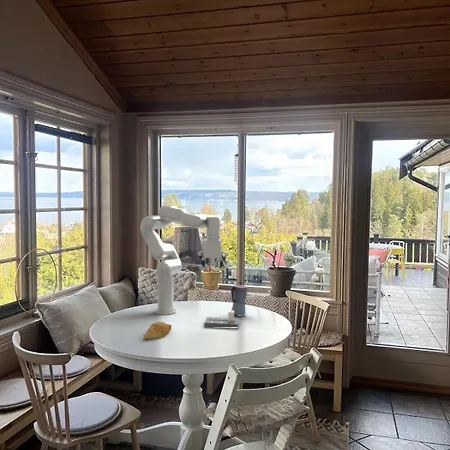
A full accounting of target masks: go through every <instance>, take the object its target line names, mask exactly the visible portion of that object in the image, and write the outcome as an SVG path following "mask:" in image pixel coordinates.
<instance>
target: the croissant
mask: <svg viewBox="0 0 450 450" xmlns="http://www.w3.org/2000/svg"><path fill="white" fill-rule="evenodd" d="M171 330H172V324H169V323H165V322H164V321H156V322H153V323H151V325H150V326H149V327H148V329H147V330H146V331H145V334H143V338H144V339H145V340H152V339H161V338H164V337H166V336H168V335H169V333H170V331H171Z"/></svg>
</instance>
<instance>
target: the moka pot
mask: <svg viewBox="0 0 450 450" xmlns="http://www.w3.org/2000/svg"><path fill="white" fill-rule="evenodd" d="M248 290H249V286H247V285H243V282H242V281H239V283H238V284H234V285H232V288H231V289H230V293H231V300H232V306H231V310H232V311H234V315H244V314H246V313H247V312H246V299H247V296H248Z"/></svg>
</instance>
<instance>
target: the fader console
mask: <svg viewBox="0 0 450 450" xmlns="http://www.w3.org/2000/svg"><path fill="white" fill-rule="evenodd" d="M239 321H240V318H235V317H234V322H233V321H228V317H216V316H215V317H214V316H213V317H212V316H206V318H205V320H204V323H203V324H204V325H203V327H204V328H210V327H238V328H239V324H238V323H239Z"/></svg>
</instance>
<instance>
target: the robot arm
mask: <svg viewBox="0 0 450 450" xmlns="http://www.w3.org/2000/svg"><path fill="white" fill-rule="evenodd" d="M157 213H158V215H148V216H145V217H144V218H143V219H142V220H141V221H140V227H139V228H140V229H139V230H140V233H141V235H142V237H143V239H144V241H145V242H146V244H147V248H148V249H149V251H150V253H151V255H152V257H153V258H154V260H157V261H160V262H158V264H157V265H156V273H157V308H156V309H155V310H154V312H155V314H157V315H173V314H176V312H177V310H176V309H175V308H174V307H175V306H174V303H175V301H174V300H175V298H174V296H175V295H174V294H175V293H174V291H175V281H174V277H173V276H174V275H178V274H180V273H181V271H182V269H183V264H182V261H181V260H180V257H179V255H178V253H177V251H176V249H175V247H174V245H172V244H171V243H168V242H166V243H163V242H162V240H161V237H160V236H159V234H158V233H157V232H156V231H155V230H163V229H165V228H166V227H168V226H169V225H170V224H172V223H177V224H180V225H181V226H184V227H187V228H192V229H206V234H205V235H203V238H205V240H204V244H203V249H202V250H200V251H198V252H197V255H198V258H199V259H200V260H201V266H202V268H205V267H206V259H207V258H209V259H219V268H220V269H222V268H223V265H224V260H225V259H227V257H228V255H229V253H228V252H226V251H224V250H223V249H222V241H221V217H220V216H219V215H207V214H193V213H188V212H186V210H185V209H183V208H178V207H177V206H175V205H162V206H161V207H159V209H158V212H157ZM202 253H203V256H202ZM222 254H223V255H224V256H223V257H222Z"/></svg>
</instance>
